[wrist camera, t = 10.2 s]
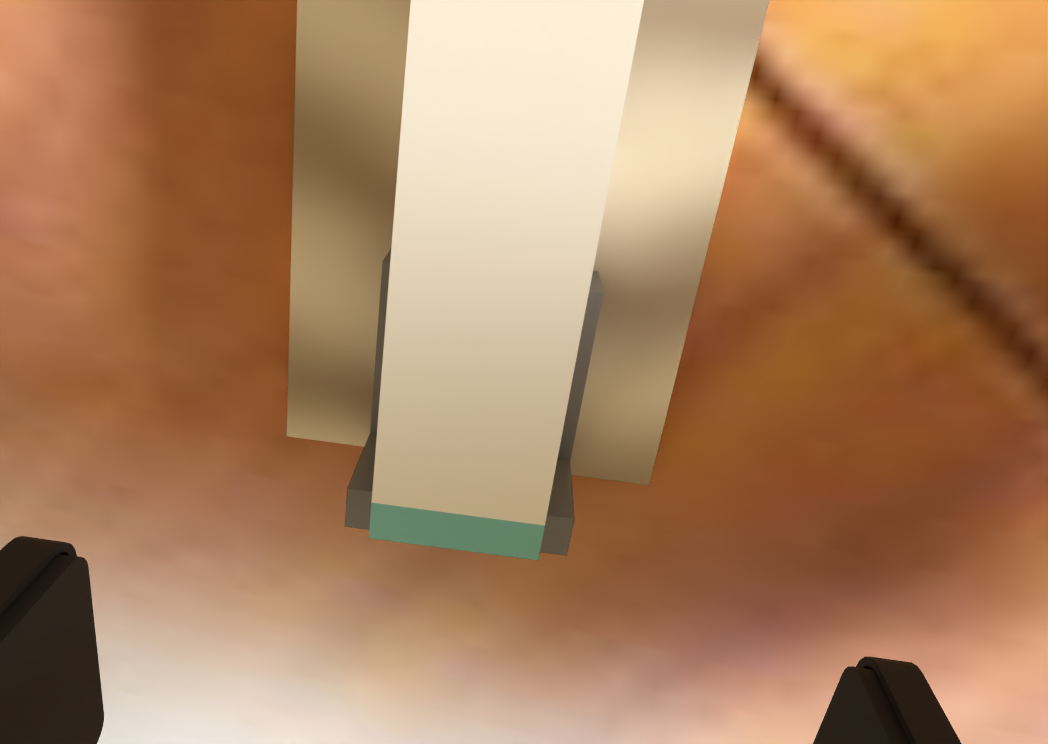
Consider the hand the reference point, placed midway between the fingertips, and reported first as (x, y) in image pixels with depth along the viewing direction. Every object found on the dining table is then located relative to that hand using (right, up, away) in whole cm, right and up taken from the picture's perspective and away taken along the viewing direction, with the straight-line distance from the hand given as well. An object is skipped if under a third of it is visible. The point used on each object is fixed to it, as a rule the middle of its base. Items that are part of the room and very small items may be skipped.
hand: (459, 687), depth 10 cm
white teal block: (0, +9, +12) cm, 15 cm away
